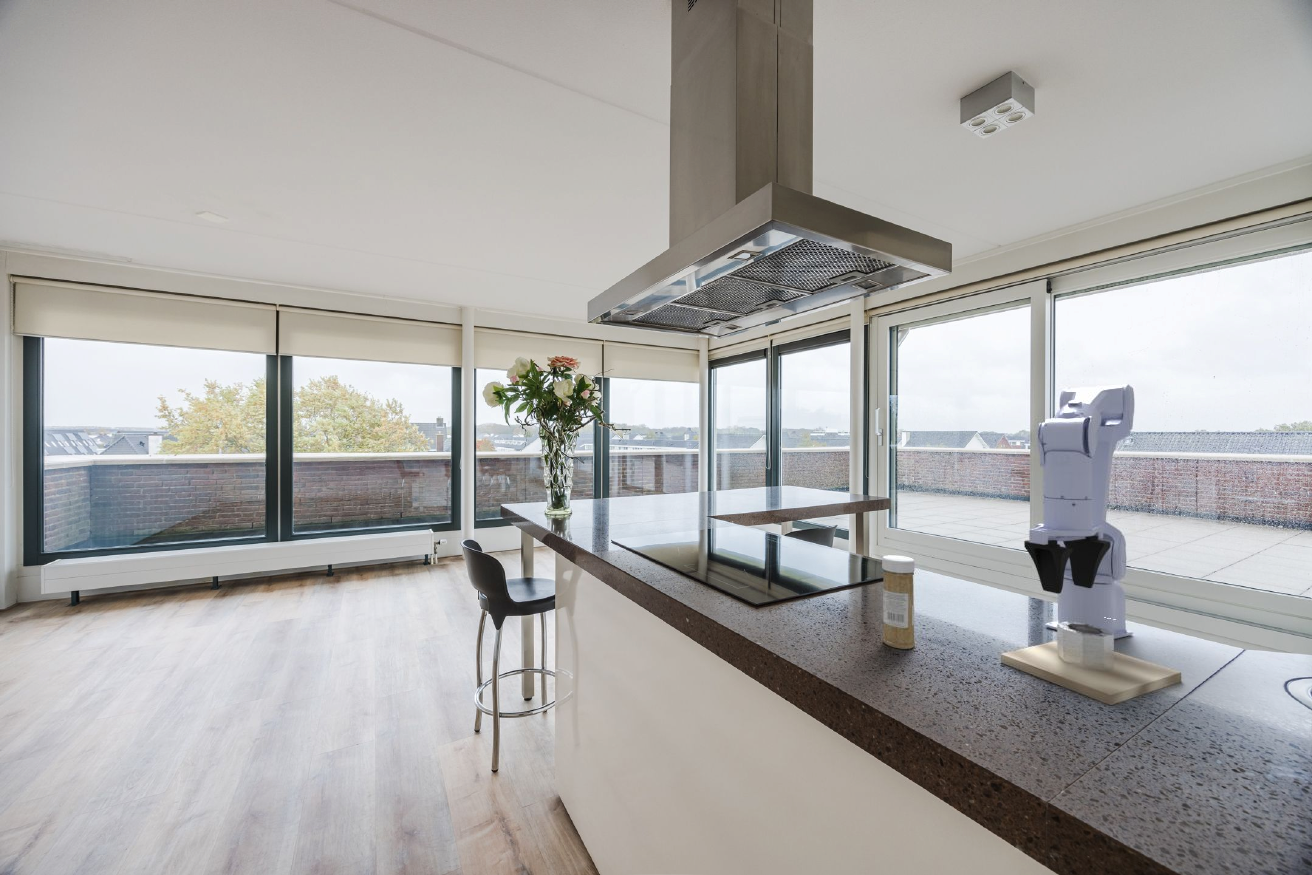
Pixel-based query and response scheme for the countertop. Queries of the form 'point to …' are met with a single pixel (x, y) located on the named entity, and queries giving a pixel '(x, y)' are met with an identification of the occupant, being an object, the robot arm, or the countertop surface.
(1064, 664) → the post board
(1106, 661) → the steel ring
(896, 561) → the sprinkles bottle
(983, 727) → the countertop surface
